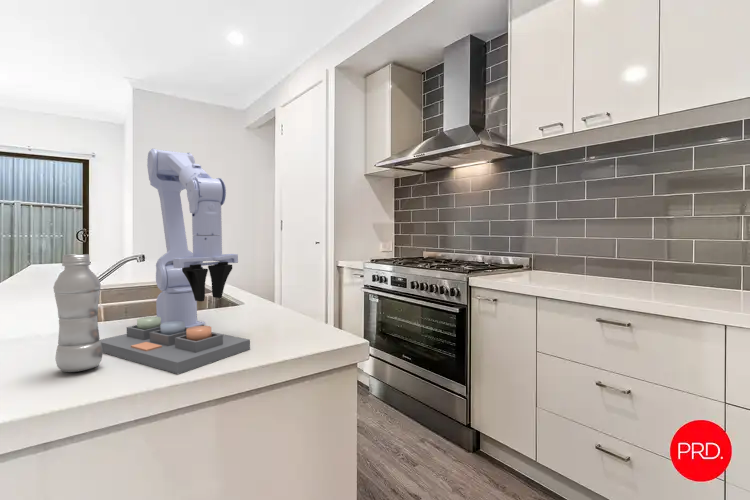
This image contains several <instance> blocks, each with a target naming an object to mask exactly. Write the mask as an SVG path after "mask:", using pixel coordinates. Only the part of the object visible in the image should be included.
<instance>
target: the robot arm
mask: <svg viewBox="0 0 750 500" xmlns="http://www.w3.org/2000/svg"><path fill="white" fill-rule="evenodd" d="M146 160H147V162H146V163H147V164H146V166H147V173H148V180H149V184H150V186H152V187H153V188H155V189H156V190H157V192H158V197H159V200H160V201H159V202H160V208H161V216H162V224H163V231H164V239H165V246H166V253H164V254H162V255H161V256H160V257H159V258H158V259H157V261H156V263H155V281H156V286H157V288H158V289H159V290H160V291H161V292H160V293H159V294H158V295H157V297H156V302H155V305H156V307H155V308H156V317H161V323H165V322H170V321H184V322H185V327H188V328H190V327H194V326H205V325H206V321H205V322H204V321H199V320H198V302H204V301H205V300H206V299H205V298H206V280H207V276H208V272H209V276H210V281H211V295H212V298H214V299H215V298H216V299H222V297H223V293H224V289H225V286H226V283H227V282H226V281H227V280H228V278H229V275H230V273H231V272H232V270H233V264H236V263H238V262H239V254H238V253H226V254H224V253H223V245H222V244H223V242H222V241H223V233H222V231H223V230H222V222H223V221H222V206H223V205H224V204H225V202H226V199H227V198H226V197H227V189H226V188H227V187H226V184H225V182H224V181H225V180H223V179H222V178H221V177H218V178H213V177H212V176H211V175H210V174H208V173H207V171H206V170H204V169H203V168H202V165H201V164H199V163H196V159H195V157H194V155H193V154H192V152H191V153H190V152H187V153H186V152H182V151H181V152H179V151H173V150H162V149H156V148H150V150H149V151H148V153H147V159H146ZM183 190H186V197H187V202H188V205H189V206H188V208H189V213H190V214H191V226H192V227H191V229H192V230H191V231H192V232H191V233H192V251H190V250H189V248H188V241H187V240H188V239H187V235H186V234H187V232H186V227H185V220H184V219H185V217H184V212H183V205H182V200H181V191H183ZM203 266H207V268H203Z"/></svg>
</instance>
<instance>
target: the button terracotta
mask: <svg viewBox="0 0 750 500" xmlns="http://www.w3.org/2000/svg"><path fill="white" fill-rule="evenodd" d="M212 332H213V331H212V326H210V325H200V326H194V327H190V328H187V329H186V337H187V339H188V340H192V341H199V340H203V339H206V338H210V337H212Z"/></svg>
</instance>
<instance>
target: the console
mask: <svg viewBox="0 0 750 500" xmlns="http://www.w3.org/2000/svg"><path fill="white" fill-rule="evenodd" d="M161 324H162V323H161ZM187 328H188V327H185V332H181V333H177V334H173V335H165V334H161V328H160V327H156V328H152V329H147V330H142V329H137V324H136V325H135V324H134V325H130V326H126V333H124V334H119V335H115V336H112V337H106V338H102V339H99V340H100V341H101V344H102V350H103V354H107V355H110V356H114V357H118V358H119V359H124V360H126V361H127V360H128V361H131V362H133V363H138V364H141V365H145V366H148V367H151V368H154V369H158V370H161V371H165V372H168V373H173V374H175V375H181V374H183V373H185V372H188V371H191V370H194V369H198V368H200V367H203V366H207V365H208V364H211V363H214V362H218V361H219V360H223V359H226V358H229V357H231V356H235V355H237V354H241V353H243V352H247V351H250V350H251V339H249V338H244V337H238V336H234V335H229V334H228V335H227V334H223V333H217V332H213V331H212V337H210V338H206V339H203V340H199V341H192V340H188V339H187V337H186V329H187Z"/></svg>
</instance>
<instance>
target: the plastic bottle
mask: <svg viewBox="0 0 750 500" xmlns="http://www.w3.org/2000/svg"><path fill="white" fill-rule="evenodd" d="M61 264H62V265H61V267H64V269H63V271H62V272H61V273H60V274H59V276H58V277H57V279H55V282H54V285H53V294H54V298H55V303H56V308H57V315H58V316H57V317H58V338H57V339H58V341H57V344H58V345H57V347H56V352H55V364H56V367H57V368H58V369H59V370H60V371H61V372H64V373H77V372H82V371H87V370H91V369H94V368H96V367H98V366H99V365H100V363H101V362H102V360H103V355H104V353H103V350H102V344H101V341H100V340H101V339H100V330H99V323H98V314H99V300H100V294H101V282H100V279H99V277H98V276H97V275H96V274H95V273H94V272H93V271H92V270H91V269H90V267H89V266H90V265H91V264H92V263H91V261H90V254H88V253H85V254H83V253H79V254H78V253H74V254H73V253H72V254H70V253H69V254H63V255H62V263H61Z"/></svg>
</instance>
